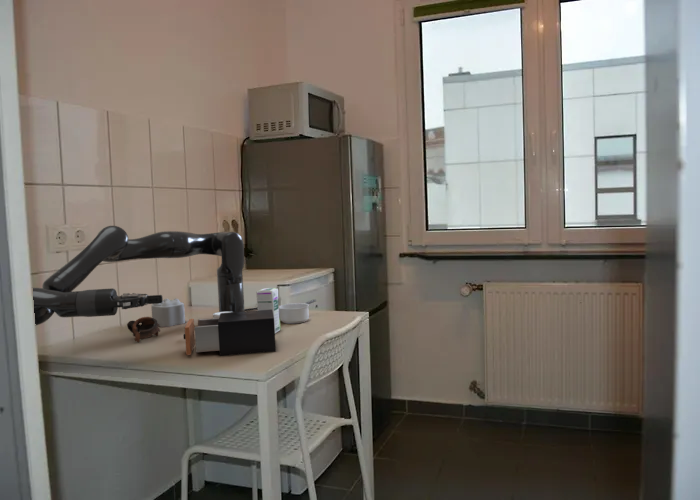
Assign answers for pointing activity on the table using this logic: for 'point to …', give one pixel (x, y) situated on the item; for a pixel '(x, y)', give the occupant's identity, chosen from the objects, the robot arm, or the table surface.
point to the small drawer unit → (246, 332)
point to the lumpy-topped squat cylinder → (169, 312)
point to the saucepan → (294, 312)
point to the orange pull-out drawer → (202, 335)
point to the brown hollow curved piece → (143, 328)
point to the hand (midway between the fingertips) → (162, 298)
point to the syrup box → (269, 304)
